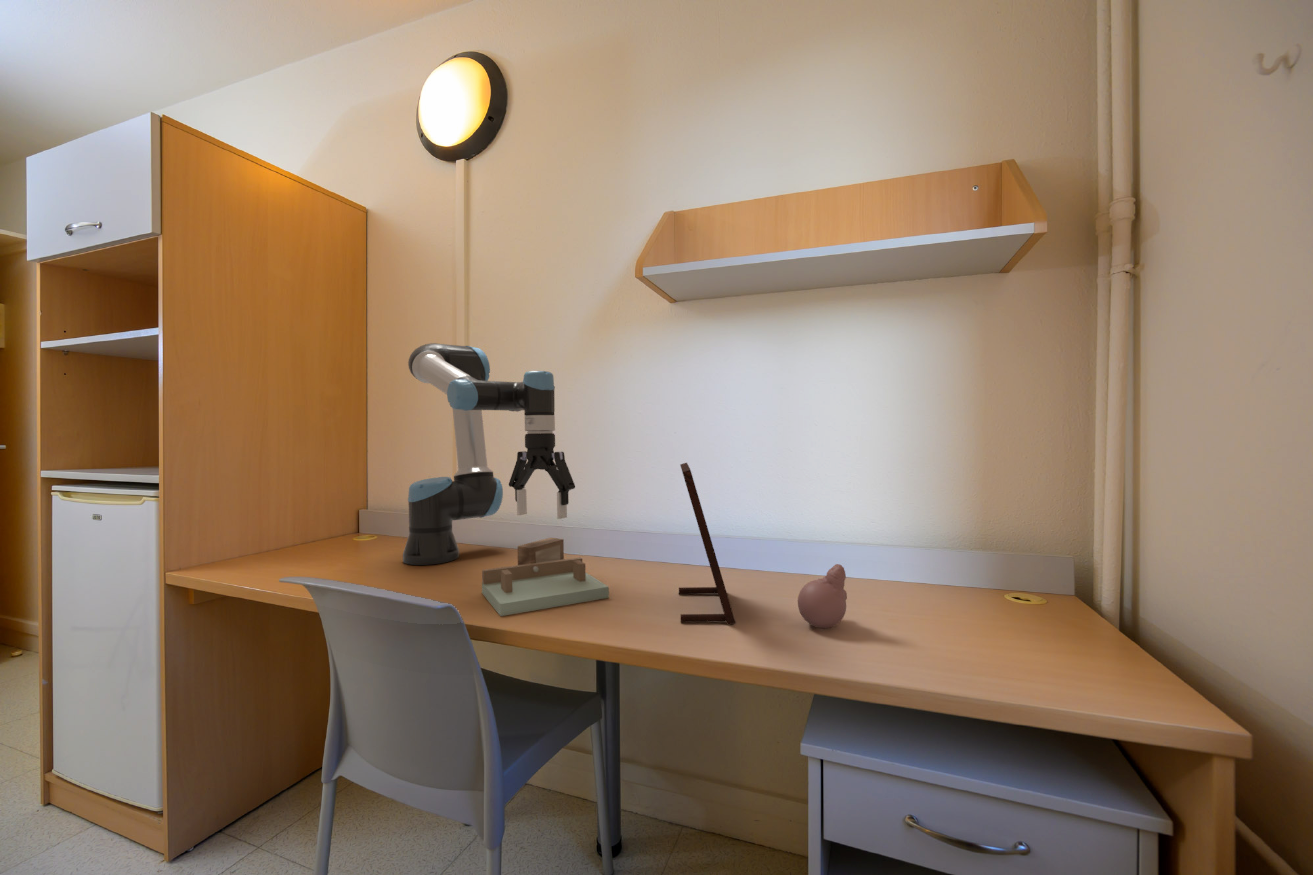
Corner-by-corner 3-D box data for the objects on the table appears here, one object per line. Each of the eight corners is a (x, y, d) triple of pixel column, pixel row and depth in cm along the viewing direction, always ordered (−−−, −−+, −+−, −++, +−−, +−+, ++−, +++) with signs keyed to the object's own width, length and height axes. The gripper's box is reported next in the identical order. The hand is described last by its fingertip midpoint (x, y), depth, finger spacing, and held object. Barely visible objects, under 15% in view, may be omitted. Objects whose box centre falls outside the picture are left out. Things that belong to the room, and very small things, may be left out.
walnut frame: (518, 582, 138) (517, 546, 138) (550, 571, 148) (550, 537, 148) (531, 584, 135) (531, 548, 135) (564, 573, 146) (563, 539, 145)
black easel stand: (735, 624, 107) (734, 469, 107) (680, 625, 107) (679, 470, 107) (724, 592, 128) (723, 462, 127) (678, 592, 128) (677, 462, 128)
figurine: (853, 620, 110) (853, 559, 109) (839, 638, 100) (840, 572, 100) (808, 612, 114) (808, 554, 114) (791, 629, 105) (791, 566, 104)
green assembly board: (482, 592, 129) (481, 565, 129) (579, 578, 140) (579, 552, 140) (500, 616, 113) (500, 584, 113) (608, 597, 125) (608, 568, 124)
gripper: (493, 433, 144) (495, 515, 144) (568, 432, 131) (570, 521, 131) (515, 432, 151) (516, 511, 151) (588, 431, 138) (589, 517, 138)
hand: (541, 516), depth 141 cm, fingers open, 13 cm apart
